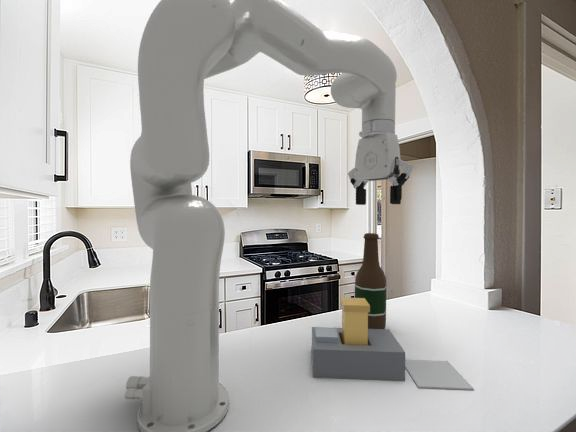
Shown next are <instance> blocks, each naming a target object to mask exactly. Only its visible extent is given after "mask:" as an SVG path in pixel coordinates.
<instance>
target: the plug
mask: <svg viewBox="0 0 576 432" xmlns="http://www.w3.org/2000/svg"><path fill="white" fill-rule="evenodd" d="M339 303H340V304H339V305H340V306H341V328H342V344H345V345H368V312H370V305H369V304H368V302H367V301H366V299H365V298H355V297H340V302H339Z"/></svg>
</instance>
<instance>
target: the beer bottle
mask: <svg viewBox="0 0 576 432" xmlns="http://www.w3.org/2000/svg"><path fill="white" fill-rule="evenodd" d="M363 239H364V242H363V243H364V246H363V257H362V258H363V259H362V263H361V265H360V267H359V270H357V271H356V272H357V273H356V275H355V278H354V279H355V281H354V298H365V299H366V301H367V302H368V304H369V305H370V312H368V329H386V324H387V277H386V275H385V272H384V270H383V269H382V267H381V266H380V259H379V241H378V239H380V237H379V234H378V233H374V232H373V233H372V232H368V233H367V232H366V233H364V234H363Z"/></svg>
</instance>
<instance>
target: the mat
mask: <svg viewBox="0 0 576 432" xmlns="http://www.w3.org/2000/svg"><path fill="white" fill-rule="evenodd" d="M405 371H407V373H408V375H409V377H411V379H412V381H413V383H414V384H415V385H416V387H417V388H418V389H429V390H431V389H432V390H433V389H434V390H459V391H474V390H475V388H474V387H473V386H472V385H471V384H470V383H469V382H468V381H467V380H466V379H465V378H464V376H463V375H462V374H461V373H459V371H458V370H457V368H455V367H454V366H453V364H451V363H450V362H449V361H448V360H430V359H428V360H426V359H405Z"/></svg>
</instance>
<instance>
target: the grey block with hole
mask: <svg viewBox="0 0 576 432" xmlns="http://www.w3.org/2000/svg"><path fill="white" fill-rule="evenodd" d="M405 360H406V351H405V349H404V348H403V346H402V345H401V344H400V342H399V341H398V339H396V337H395V336H394V334H393V332H392V331H391V330H390V329H387V328H385V329H368V345H345V344H342V327H320V326H318V327H317V326H312V327H311V364H312V365H311V366H312V378H325V379H348V380H349V379H351V380H352V379H353V380H374V381H375V380H378V381H400V382H405V381H406V368H405Z"/></svg>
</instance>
